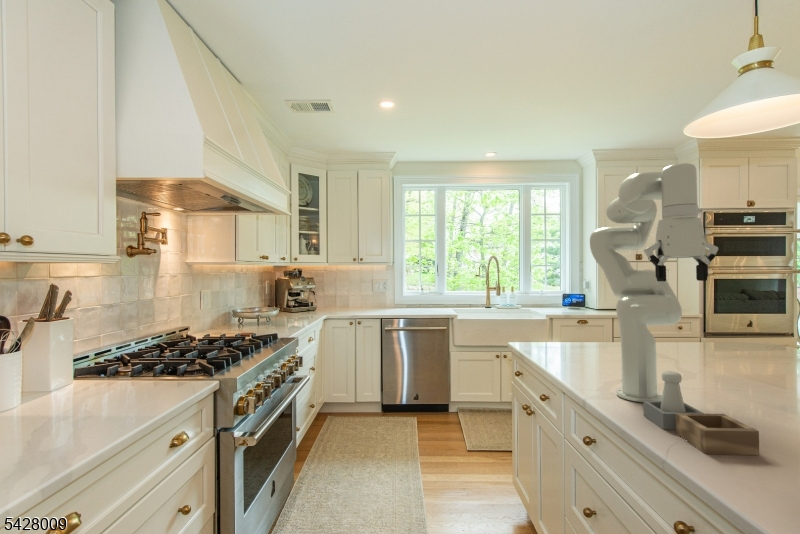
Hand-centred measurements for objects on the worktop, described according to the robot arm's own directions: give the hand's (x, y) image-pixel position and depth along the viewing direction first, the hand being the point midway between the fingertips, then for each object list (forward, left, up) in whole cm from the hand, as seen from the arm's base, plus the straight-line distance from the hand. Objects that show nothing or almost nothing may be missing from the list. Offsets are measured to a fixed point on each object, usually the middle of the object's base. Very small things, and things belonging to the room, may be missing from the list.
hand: (681, 280), depth 105 cm
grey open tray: (-2, -2, -37) cm, 37 cm away
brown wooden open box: (+11, 0, -37) cm, 38 cm away
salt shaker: (-2, -2, -37) cm, 37 cm away
